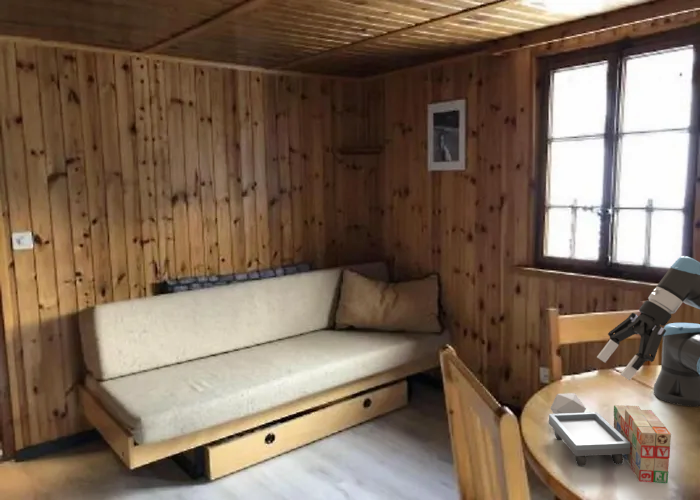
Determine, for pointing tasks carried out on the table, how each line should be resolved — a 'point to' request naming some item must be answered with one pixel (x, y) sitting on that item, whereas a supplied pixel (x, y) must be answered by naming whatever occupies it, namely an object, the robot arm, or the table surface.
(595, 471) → the table surface
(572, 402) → the die
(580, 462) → the trolley
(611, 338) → the robot arm
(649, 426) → the stack of blocks
